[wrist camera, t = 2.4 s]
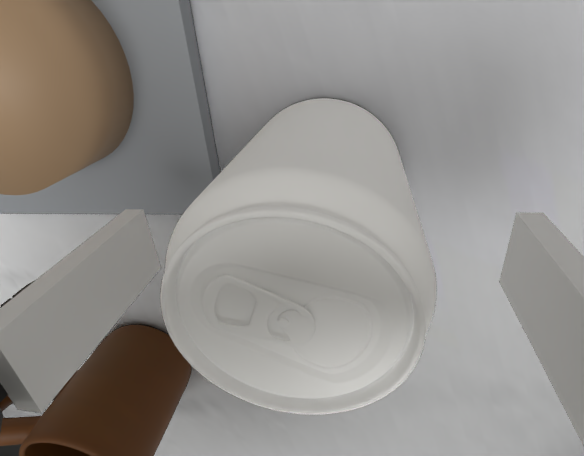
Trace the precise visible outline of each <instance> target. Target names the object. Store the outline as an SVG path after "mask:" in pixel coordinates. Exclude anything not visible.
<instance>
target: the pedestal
mask: <svg viewBox="0 0 584 456" xmlns="http://www.w3.org/2000/svg"><path fill="white" fill-rule="evenodd" d="M219 174H220V168H219V163H218V157H217V152H216V146H215V141H214V135H213V129H212V124H211V118H210V113H209V107H208V102H207V96H206V91H205V85H204V79H203V74H202V68H201V63H200V57H199V52H198V46H197V40H196V35H195V29H194V24H193V18H192V13H191V7H190V1H189V0H0V214H120V213H122V212H123V211H124V210H125V209H143V210H144V213H145V214H181V215H183V213H184V212H185V211H186V209H187V208H188V207H189V206H190V205H191V204H192V202H193V201H194V200H195V199H196V198H197V197H198V196H199V195H200V194H201V193H202V192H203V191H204V190H205V189H206V187H207V186H208V185H209V184H210V183H211V182H212V181H213V180H214V179H215V178H216V177H217V176H218V175H219Z"/></svg>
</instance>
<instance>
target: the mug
mask: <svg viewBox="0 0 584 456" xmlns="http://www.w3.org/2000/svg"><path fill="white" fill-rule="evenodd" d="M190 374H191V365H190V364H189V363H188V361H187V360H186V359H185V358H184V357H183V356H182V354H181V353H180V352H179V350H178V349H177V347H176V346H175V344H174V343H173V341H172V339H171V337H170V336H169V335H168V334H166V333H164V332H162V331H160V330H158V329H155V328H152V327H148V326H143V325H127V326H123V327H120V328H118V329H116V330H114V331H113V332H111V333H110V334H109V335H108V336H107V337H106V338H105V339H104V340H103V341H102V343H101V344H100V345H99V346H98V347H97V349H96V350H95V351H94V352H93V354H92V355H91V356H90V357H89V359H88V360H87V361H86V362H85V363H84V364H83V366H82V367H81V368H80V369H79V370H78V371H76V372H75V373H74V374H73V376H72V377H71V378H70V379H69V381H68V382H67V383H66V384H65V385H64V387H63V388H62V389H61V390H60V391H59V393H58V394H57V395H56V396H55V397H54V399H53V400H54V401H53V402H52V404H51V405H50V406H49V407H48V409H47V410H46V411H45V412H44V413H43V415H42V416H34V417H18V418H2V425H1V432H0V446H8V445H19V444H21V447H20V449H19V456H154V454H155V452H156V450H157V448H158V445H159V443H160V441H161V439H162V437H163V435H164V433H165V431H166V429H167V427H168V425H169V422H170V420H171V418H172V416H173V414H174V412H175V409H176V407H177V405H178V403H179V401H180V399H181V397H182V394H183V392H184V390H185V388H186V386H187V384H188V381H189V378H190ZM11 404H13V402H12V401H11V399H10V398H9V397H8V395H7V396H6V397H5V398H4V399H3V400H2V401H1V402H0V408H1V410H2V411H3V410H4V409H5V408H7V407H8V406H9V405H11Z"/></svg>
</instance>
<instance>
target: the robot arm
mask: <svg viewBox="0 0 584 456" xmlns="http://www.w3.org/2000/svg"><path fill="white" fill-rule="evenodd" d="M160 269H161V265H160V262H159V259H158V255H157V252H156V249H155V245H154V242H153V239H152V236H151V232H150V229H149V226H148V223H147V219H146V216H145V213H144V210H143V209H125V210H124V211H123V212H122V213H120V214H119V215H118V216H117V217H115V218H114V219H113V220H112V221H110V222H109V223H108V224H106V225H105V226H104V227H103V228H101V229H100V230H99V231H98V232H96V233H95V234H94V235H92V236H91V237H90V238H89V239H87V240H86V241H85V242H84V243H82V244H81V245H80V246H78V247H77V248H76V249H75V250H73V251H72V252H71V253H70V254H68V255H67V256H66V257H65V258H63V259H62V260H61V261H59V262H58V263H57V264H56V265H54V266H53V267H52V268H51V269H49V270H48V271H47V272H45V273H44V274H43V275H42V276H40V277H39V278H38V279H37V280H35V281H33V282H32V283H30V284H28V285H26V286H25V287H24V288H22V289H21V290H20V291H19V292H17V293H16V294H15V295H13V298H12V299H8V300H7V301H6V302H4V303H3V304H2V305H1V307H0V402H1V401H2V400H3V399H4V398H5V397H6V396H7V395H8V397H9V398H10V399H11V401H12V402H13V404H14V405H15V407H16V408H17V409H18V410H24V411H32V412H39V413H42V412H43V411H44V410H45V408H46V407H47V406H48V405H49V404H50V402H51V401H52V400H53V399H54V397H55V396H56V395H57V394H58V393H59V391H60V390H61V389H62V388H63V387H64V385H65V384H66V383H67V382H68V381H69V379H70V378H71V377H72V376H73V374H74V373H75V372H76V371H77V370H78V368H79V367H80V366H81V365H82V364H83V362H84V361H85V360H86V359H87V357H88V356H89V355H90V354H91V353H92V351H93V350H94V349H95V348H96V347H97V345H98V344H99V343H100V342H101V340H102V339H103V338H104V337H105V336H106V334H107V333H108V332H109V331H110V330H111V328H112V327H113V326H114V325H115V324H116V322H117V321H118V320H119V319H120V317H121V316H122V315H123V314H124V313H125V311H126V310H127V309H128V308H129V307H130V305H131V304H132V303H133V302H134V300H135V299H136V298H137V297H138V296H139V294H140V293H141V292H142V291H143V290H144V288H145V287H146V286H147V285H148V283H149V282H150V281H151V280H152V279H153V277H154V276H155V275H156V274H157V273H158V271H159V270H160ZM499 283H500V284H501V286H502V288H503V290H504V292H505V294H506V296H507V298H508V300H509V302H510V304H511V306H512V308H513V310H514V312H515V314H516V316H517V318H518V320H519V321H520V323H521V325H522V327H523V329H524V331H525V333H526V335H527V337H528V339H529V341H530V343H531V345H532V347H533V349H534V351H535V353H536V355H537V356H538V358H539V360H540V362H541V364H542V366H543V368H544V370H545V372H546V374H547V376H548V378H549V380H550V382H551V384H552V386H553V388H554V390H555V392H556V393H557V395H558V397H559V399H560V401H561V403H562V405H563V407H564V409H565V411H566V413H567V415H568V417H569V419H570V421H571V423H572V425H573V427H574V428H575V430H576V432H577V434H578V436H579V438H580V440H581V442H582V444H583V446H584V256H583V255H582V254H581V253H580V252H579V251H578V250H577V249H576V248H575V247H574V246H573V244H572V243H571V242H570V241H569V240H568V239H567V238H566V237H565V236H564V235H563V234H562V233H561V232H560V230H559V229H558V228H557V227H556V226H555V225H554V224H553V223H552V222H551V221H550V220H549V219H548V218H547V216H546V215H545V214H544V213H516V216H515V220H514V224H513V228H512V232H511V236H510V240H509V244H508V248H507V252H506V256H505V260H504V264H503V268H502V272H501V276H500V280H499ZM2 418H3V414H2V410H1V408H0V432H1V425H2ZM20 447H21V444H19V445H8V446H0V456H19V449H20Z"/></svg>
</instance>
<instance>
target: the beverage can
mask: <svg viewBox="0 0 584 456" xmlns="http://www.w3.org/2000/svg"><path fill="white" fill-rule="evenodd" d="M436 296H437V284H436V275H435V269H434V266H433V262H432V258H431V255H430V252H429V248H428V245H427V242H426V239H425V236H424V232H423V229H422V226H421V223H420V219H419V216H418V213H417V210H416V206H415V203H414V200H413V197H412V194H411V190H410V187H409V184H408V181H407V177H406V174H405V171H404V168H403V164H402V161H401V158H400V155H399V152H398V149H397V146H396V144H395V142H394V140H393V138H392V136H391V134H390V133H389V131H388V130H387V129H386V127H385V126H384V125H383V124H382V123H381V122H380V121H379V120H378V119H377V118H376V117H375V116H374V115H372V114H371V113H370V112H368V111H367V110H365V109H363V108H361V107H359V106H357V105H355V104H352V103H350V102H346V101H343V100H338V99H329V98H319V99H311V100H306V101H302V102H299V103H296V104H293V105H291V106H289V107H287V108H285V109H284V110H282V111H280V112H279V113H278V114H276V115H275V116H274V117H273V118H272V119H271V120H270V121H269V122H268V123H267V124H266V125H265V126H264V127H263V128H262V129H261V130H260V131H259V132H258V133H257V134H256V135H255V136H254V137H253V138H252V140H251V141H250V142H249V143H248V144H247V145H246V146H245V147H244V148H243V149H242V150H241V151H240V152H239V153H238V154H237V156H236V157H235V158H234V159H233V160H232V161H231V162H230V163H229V164H228V165H227V166H226V167H225V168H224V169H223V170H222V171H221V173H220V174H219V175H218V176H217V177H216V178H215V179H214V180H213V181H212V182H211V183H210V184H209V185H208V186H207V187H206V189H205V190H204V191H203V192H202V193H201V194H200V195H199V196H198V197H197V198H196V199H195V200H194V201H193V202H192V204H191V205H190V206H189V207H188V208H187V209H186V211H185V212H184V213H183V215H182V216H181V218H180V219H179V221H178V223H177V225H176V227H175V229H174V231H173V233H172V236H171V238H170V241H169V245H168V249H167V254H166V261H165V272H164V275H163V278H162V283H161V291H160V304H161V311H162V316H163V320H164V323H165V326H166V328H167V331H168V333H169V335H170V337H171V339H172V341H173V343H174V344H175V346H176V347H177V349H178V350H179V352H180V353H181V354H182V356H183V357H184V358H185V359H186V360H187V361H188V363H189V364H190V365H191V366H192V367H193V368H194V369H195V370H196V371H198V372H199V373H200V374H201V375H202V376H203V377H205V378H206V379H207V380H209V381H210V382H211V383H213V384H214V385H216V386H217V387H219V388H220V389H222V390H224V391H226V392H227V393H229V394H231V395H233V396H235V397H237V398H239V399H242V400H244V401H246V402H249V403H252V404H254V405H257V406H260V407H264V408H267V409H271V410H276V411H281V412H286V413H294V414H307V415H320V414H333V413H340V412H345V411H350V410H353V409H357V408H360V407H363V406H366V405H368V404H371V403H373V402H375V401H377V400H379V399H381V398H383V397H385V396H386V395H388V394H389V393H391V392H392V391H394V390H395V389H396V388H397V387H398V386H400V385H401V384H402V383H403V382H404V381H405V380H406V379H407V377H408V376H409V375H410V374H411V372H412V371H413V370H414V368H415V366H416V365H417V363H418V361H419V359H420V356H421V354H422V351H423V348H424V344H425V338H426V334H427V332H428V330H429V327H430V325H431V322H432V319H433V315H434V311H435V306H436Z"/></svg>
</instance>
